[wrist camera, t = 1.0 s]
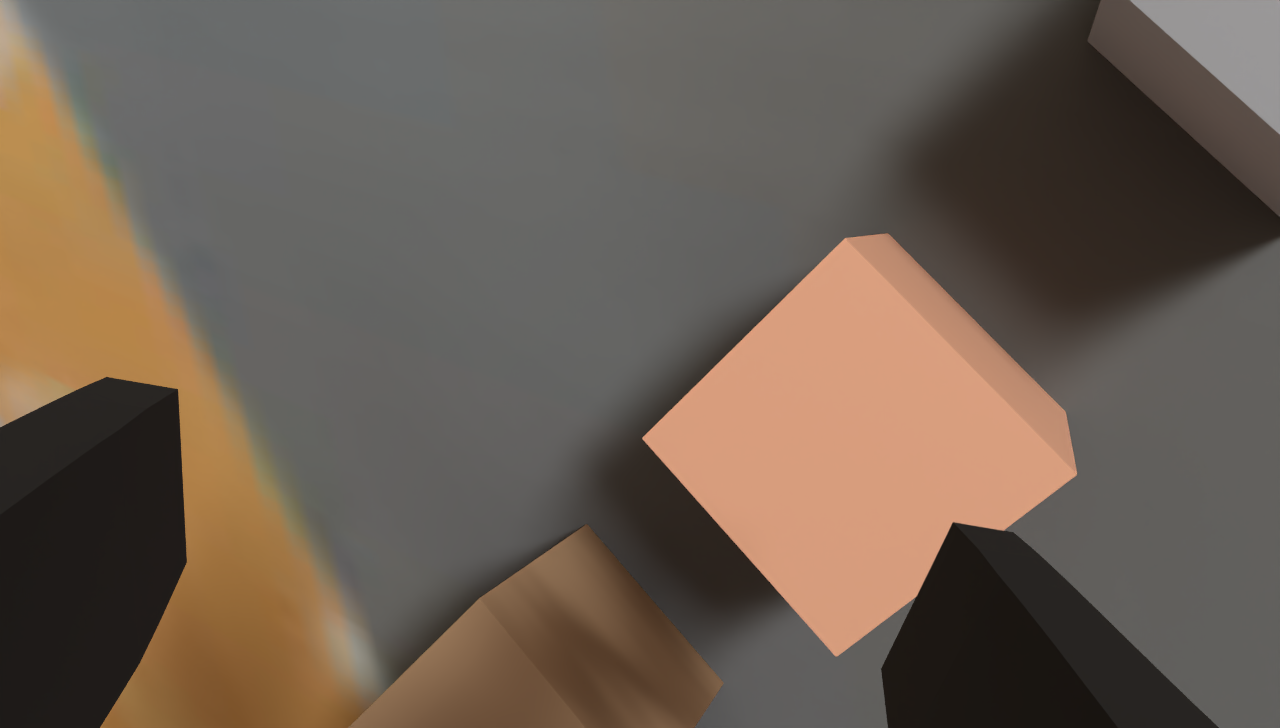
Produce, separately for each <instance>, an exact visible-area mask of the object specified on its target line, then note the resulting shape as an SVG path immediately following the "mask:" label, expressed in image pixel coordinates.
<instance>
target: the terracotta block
mask: <svg viewBox="0 0 1280 728" xmlns="http://www.w3.org/2000/svg"><path fill="white" fill-rule="evenodd" d="M642 439H643V440H644V441H645V442H646V443H647V445H648V446H649V447H650V448H651V449H652V450H653V451H654V452H655V454H656V455H657V456H658V457H659V458H660V459H661V460H662V461H663V463H664V464H665V465H666V466H667V467H668V468H669V469H670V470H671V472H672V473H673V474H674V475H675V476H676V477H677V478H678V479H679V481H680V482H681V483H682V484H683V485H684V486H685V487H686V488H687V490H688V491H689V492H690V493H691V494H692V495H693V496H694V497H695V499H696V500H697V501H698V502H699V503H700V504H701V505H702V506H703V508H704V509H705V510H706V511H707V512H708V513H709V514H710V515H711V517H712V518H713V519H714V520H715V521H716V522H717V523H718V524H719V526H720V527H721V528H722V529H723V530H724V531H725V532H726V533H727V535H728V536H729V537H730V538H731V539H732V540H733V541H734V542H735V544H736V545H737V546H738V547H739V548H740V549H741V550H742V551H743V553H744V554H745V555H746V556H747V557H748V558H749V559H750V560H751V562H752V563H753V564H754V565H755V566H756V567H757V568H758V569H759V571H760V572H761V573H762V574H763V575H764V576H765V577H766V578H767V580H768V581H769V582H770V583H771V584H772V585H773V586H774V587H775V589H776V590H777V591H778V592H779V593H780V594H781V595H782V596H783V598H784V599H785V600H786V601H787V602H788V603H789V604H790V605H791V607H792V608H793V609H794V610H795V611H796V612H797V613H798V614H799V616H800V617H801V618H802V619H803V620H804V621H805V622H806V623H807V625H808V626H809V627H810V628H811V629H812V630H813V631H814V632H815V634H816V635H817V636H818V637H819V638H820V639H821V640H822V641H823V643H824V644H825V645H826V646H827V647H828V648H829V649H830V650H831V652H832V653H833V654H834V655H835V656H836V657H837V656H838V655H840V654H841V653H842V652H844V651H845V650H846V649H847V648H849V647H850V646H851V645H853V644H854V643H855V642H857V641H858V640H859V639H861V638H862V637H863V636H865V635H866V634H867V633H869V632H870V631H871V630H873V629H874V628H875V627H877V626H878V625H879V624H880V623H882V622H883V621H884V620H886V619H887V618H888V617H890V616H891V615H892V614H894V613H895V612H896V611H898V610H899V609H900V608H902V607H903V606H904V605H906V604H907V603H908V602H910V601H911V600H912V599H913V598H915V597H916V596H917V595H918V593H919V591H920V589H921V586H922V584H923V582H924V580H925V578H926V576H927V574H928V572H929V570H930V568H931V566H932V564H933V562H934V560H935V558H936V556H937V554H938V552H939V550H940V548H941V546H942V543H943V541H944V539H945V537H946V535H947V533H948V531H949V529H950V527H951V525H952V523H953V522H955V523H961V524H967V525H973V526H979V527H985V528H990V529H996V530H1002V531H1003V530H1005V529H1006V528H1007V527H1009V526H1010V525H1011V524H1013V523H1014V522H1015V521H1016V520H1018V519H1019V518H1020V517H1022V516H1023V515H1024V514H1026V513H1027V512H1028V511H1030V510H1031V509H1032V508H1034V507H1035V506H1036V505H1038V504H1039V503H1040V502H1042V501H1043V500H1044V499H1046V498H1047V497H1048V496H1049V495H1051V494H1052V493H1053V492H1055V491H1056V490H1057V489H1059V488H1060V487H1061V486H1063V485H1064V484H1065V483H1067V482H1068V481H1069V480H1071V479H1072V478H1073V477H1075V476H1076V475H1077V471H1076V465H1075V460H1074V454H1073V449H1072V443H1071V438H1070V433H1069V427H1068V422H1067V416H1066V412H1065V411H1064V410H1063V409H1062V408H1061V407H1060V406H1059V405H1058V404H1057V403H1056V402H1055V401H1054V400H1053V399H1052V398H1051V397H1050V396H1049V395H1048V394H1047V393H1046V392H1045V391H1044V390H1043V389H1042V388H1041V387H1040V386H1039V385H1038V384H1037V383H1036V382H1035V381H1034V380H1033V379H1032V378H1031V377H1030V376H1029V375H1028V374H1027V373H1026V372H1025V371H1024V370H1023V369H1022V368H1021V367H1020V366H1019V365H1018V364H1017V363H1016V362H1015V361H1014V360H1013V359H1012V358H1011V357H1010V356H1009V355H1008V353H1007V352H1006V351H1005V350H1004V349H1003V348H1002V347H1001V346H1000V345H999V344H998V343H997V342H996V341H995V340H994V339H993V338H992V337H991V336H990V335H989V334H988V333H987V332H986V331H985V330H984V329H983V328H982V327H981V326H980V325H979V324H978V323H977V322H976V321H975V320H974V319H973V318H972V317H971V316H970V315H969V314H968V313H967V312H966V311H965V310H964V309H963V308H962V307H961V306H960V305H959V304H958V303H957V302H956V301H955V300H954V299H953V298H952V297H951V296H950V295H949V294H948V293H947V292H946V291H945V290H944V289H943V288H942V287H941V286H940V285H939V284H938V283H937V282H936V281H935V280H934V279H933V278H932V277H931V276H930V275H929V274H928V273H927V272H926V271H925V270H924V269H923V268H922V267H921V266H920V265H919V264H918V263H917V262H916V261H915V260H914V259H913V258H912V257H911V256H910V255H909V254H908V253H907V252H906V251H905V250H904V249H903V248H902V247H901V246H900V245H899V244H898V243H897V242H896V241H895V240H894V239H893V238H892V237H891V236H890V235H889V234H888V233H887V234H878V235H869V236H860V237H851V238H845V239H844V240H843V241H842V242H841V243H840V244H839V245H838V246H837V247H836V248H835V249H834V250H833V251H832V252H831V253H830V254H829V255H828V256H827V257H825V258H824V259H823V260H822V261H821V262H820V263H819V264H818V265H817V266H816V267H815V268H814V269H813V270H812V271H811V272H810V273H809V274H808V275H807V276H806V277H805V278H804V279H803V280H802V281H801V282H800V283H799V284H798V285H797V286H796V287H795V288H794V289H793V290H792V291H791V292H790V293H789V294H788V295H787V296H786V297H785V298H784V299H783V300H782V301H781V302H780V303H779V304H778V305H777V306H776V307H775V308H774V309H773V310H772V311H771V312H770V313H769V314H768V315H767V316H766V317H765V318H764V319H763V320H762V321H761V322H759V323H758V324H757V325H756V326H755V327H754V328H753V329H752V330H751V331H750V332H749V333H748V334H747V335H746V336H745V337H744V338H743V339H742V340H741V341H740V342H739V343H738V344H737V345H736V346H735V347H734V348H733V349H732V350H731V351H730V352H729V353H728V354H727V355H726V356H725V357H724V358H723V359H722V360H721V361H720V362H719V363H718V364H717V365H716V366H715V367H714V368H713V369H712V370H711V371H710V372H709V373H708V374H707V375H706V376H705V377H704V378H703V379H702V380H701V381H700V382H699V383H698V384H697V385H696V386H695V387H693V388H692V389H691V390H690V391H689V392H688V393H687V394H686V395H685V396H684V397H683V398H682V399H681V400H680V401H679V402H678V403H677V404H676V405H675V406H674V407H673V408H672V409H671V410H670V411H669V412H668V413H667V414H666V415H665V416H664V417H663V418H662V419H661V420H660V421H659V422H658V423H657V424H656V425H655V426H654V427H653V428H652V429H651V430H650V431H649V432H648V433H647V434H646V435H645V436H644V437H643V438H642Z"/></svg>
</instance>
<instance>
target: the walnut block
mask: <svg viewBox="0 0 1280 728" xmlns="http://www.w3.org/2000/svg"><path fill="white" fill-rule="evenodd" d="M722 685H723V682H722V680H721V679H720V678H719V677H718V676H717V675H716V674H715V672H714V671H713V670H712V669H711V668H710V667H709V665H708V664H707V663H706V662H705V661H704V660H703V658H702V657H701V656H700V655H699V654H698V653H697V651H696V650H695V649H694V648H693V647H692V646H691V644H690V643H689V642H688V641H687V640H686V639H685V637H684V636H683V635H682V634H681V633H680V632H679V631H678V629H677V628H676V627H675V626H674V625H673V624H672V622H671V621H670V620H669V619H668V618H667V617H666V615H665V614H664V613H663V612H662V611H661V610H660V608H659V607H658V606H657V605H656V604H655V603H654V601H653V600H652V599H651V598H650V597H649V596H648V594H647V593H646V592H645V591H644V590H643V589H642V587H641V586H640V585H639V584H638V583H637V582H636V581H635V579H634V578H633V577H632V576H631V575H630V574H629V572H628V571H627V570H626V569H625V568H624V567H623V565H622V564H621V563H620V562H619V561H618V560H617V558H616V557H615V556H614V555H613V554H612V553H611V551H610V550H609V549H608V548H607V547H606V546H605V544H604V543H603V542H602V541H601V540H600V539H599V538H598V536H597V535H596V534H595V533H594V532H593V531H592V529H591V528H590V527H589V526H588V525H587V524H586V525H585V526H583V527H582V528H580V529H579V530H577V531H576V532H575V533H573V534H572V535H570V536H569V537H567V538H566V539H564V540H563V541H562V542H560V543H559V544H557V545H556V546H554V547H553V548H551V549H550V550H548V551H547V552H546V553H544V554H543V555H541V556H540V557H538V558H537V559H535V560H534V561H533V562H531V563H530V564H528V565H527V566H525V567H524V568H522V569H521V570H520V571H518V572H517V573H515V574H514V575H512V576H511V577H509V578H508V579H507V580H505V581H504V582H502V583H501V584H499V585H498V586H496V587H495V588H494V589H492V590H491V591H489V592H488V593H486V594H485V595H483V596H482V597H480V598H479V599H478V600H477V601H476V602H475V603H474V604H473V605H472V606H471V607H470V608H469V609H468V610H467V611H466V612H465V613H464V614H463V615H462V616H461V617H460V618H459V619H458V620H457V621H456V622H455V623H454V624H453V625H452V626H451V627H450V628H449V629H448V630H447V631H446V632H445V633H444V634H443V635H442V636H441V637H440V638H439V639H438V640H437V641H436V642H435V643H434V644H433V645H432V646H431V647H429V648H428V649H427V650H426V651H425V652H424V653H423V654H422V655H421V656H420V657H419V658H418V659H417V660H416V661H415V662H414V663H413V664H412V665H411V666H410V667H409V668H408V669H407V670H406V671H405V672H404V673H403V674H402V675H401V676H400V677H399V678H398V679H397V680H396V681H395V682H394V683H393V684H392V685H391V686H390V687H389V688H388V689H387V690H386V691H385V692H384V693H383V694H382V695H381V696H380V697H379V698H378V699H377V700H376V701H375V702H374V703H373V704H372V705H371V706H370V707H369V708H368V709H367V710H366V711H365V712H364V713H363V714H362V715H361V716H360V717H359V718H358V719H357V720H355V721H354V722H353V723H352V724H351V725H350V726H349V727H348V728H694V727H695V726H696V724H697V723H698V721H699V720H700V718H701V717H702V715H703V714H704V712H705V711H706V709H707V708H708V706H709V705H710V703H711V702H712V700H713V699H714V697H715V696H716V694H717V693H718V691H719V690H720V688H721V687H722Z"/></svg>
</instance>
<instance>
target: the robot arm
mask: <svg viewBox="0 0 1280 728" xmlns="http://www.w3.org/2000/svg"><path fill="white" fill-rule="evenodd" d="M186 563H187V557H186V538H185V518H184V498H183V479H182V459H181V439H180V419H179V400H178V389H173V388H167V387H162V386H156V385H150V384H144V383H138V382H132V381H126V380H121V379H115V378H109V377H106V378H103V379H101V380H99V381H96V382H94V383H92V384H89V385H87V386H85V387H83V388H80V389H78V390H76V391H74V392H72V393H70V394H68V395H65V396H63V397H61V398H59V399H57V400H55V401H53V402H51V403H49V404H47V405H45V406H43V407H41V408H39V409H37V410H35V411H33V412H30V413H28V414H26V415H24V416H22V417H20V418H18V419H16V420H14V421H12V422H10V423H8V424H6V425H4V426H2V427H0V728H100V726H101V725H102V723H103V722H104V720H105V718H106V717H107V715H108V714H109V712H110V710H111V709H112V707H113V706H114V704H115V702H116V701H117V699H118V698H119V696H120V694H121V693H122V691H123V690H124V688H125V686H126V685H127V683H128V681H129V680H130V678H131V676H132V675H133V673H134V672H135V670H136V668H137V667H138V665H139V663H140V661H141V659H142V657H143V655H144V653H145V651H146V649H147V647H148V645H149V643H150V641H151V639H152V637H153V634H154V632H155V630H156V628H157V626H158V624H159V622H160V620H161V618H162V616H163V614H164V611H165V609H166V607H167V605H168V602H169V600H170V598H171V596H172V594H173V591H174V589H175V587H176V585H177V583H178V580H179V578H180V576H181V574H182V571H183V569H184V567H185V565H186ZM881 670H882V679H883V688H884V696H885V705H886V714H887V722H888V728H1219V727H1218V726H1216V725H1215V724H1214V723H1213V722H1212V721H1211V720H1210V719H1209V718H1208V717H1207V716H1206V715H1205V714H1204V713H1203V712H1202V711H1201V710H1200V709H1199V708H1197V707H1196V706H1195V705H1194V704H1193V703H1192V702H1191V701H1190V700H1189V699H1188V698H1187V697H1186V696H1185V695H1184V694H1183V693H1182V692H1181V691H1180V690H1179V689H1178V688H1177V687H1176V686H1175V685H1174V684H1172V683H1171V682H1170V681H1169V680H1168V679H1167V678H1166V677H1165V676H1164V675H1163V674H1162V673H1161V672H1160V671H1159V670H1158V669H1157V668H1156V667H1155V666H1154V665H1153V664H1152V663H1151V662H1150V661H1149V660H1148V659H1147V658H1146V657H1145V656H1144V655H1143V654H1142V653H1141V652H1140V651H1139V650H1138V649H1136V648H1135V647H1134V646H1133V645H1132V644H1131V643H1130V642H1129V641H1128V640H1127V639H1126V638H1125V637H1124V636H1123V635H1122V634H1121V633H1120V632H1119V631H1118V630H1117V629H1116V628H1115V627H1114V626H1113V625H1112V624H1111V623H1110V622H1109V621H1108V620H1107V619H1106V618H1105V617H1104V616H1103V615H1102V614H1101V613H1100V612H1099V611H1098V610H1097V609H1096V608H1095V607H1094V606H1093V605H1092V604H1091V603H1089V602H1088V601H1087V600H1086V599H1085V598H1084V597H1083V596H1082V595H1081V594H1080V593H1079V592H1078V591H1077V590H1076V589H1075V588H1074V587H1073V586H1072V585H1071V584H1070V583H1069V582H1068V581H1067V580H1066V579H1065V578H1064V577H1063V576H1061V575H1060V574H1059V573H1058V572H1057V571H1056V570H1055V569H1054V568H1053V567H1052V566H1051V565H1050V564H1049V563H1048V562H1047V561H1046V560H1044V559H1043V558H1042V557H1041V556H1040V555H1039V554H1038V553H1037V552H1036V551H1034V550H1033V549H1032V548H1031V547H1030V546H1029V545H1028V544H1026V543H1025V542H1024V541H1023V540H1022V539H1020V538H1019V537H1018V536H1017V535H1016V534H1014V533H1013V532H1008V531H1002V530H996V529H990V528H985V527H979V526H973V525H967V524H961V523H955V522H953V523H952V525H951V527H950V529H949V531H948V533H947V535H946V537H945V539H944V541H943V543H942V546H941V548H940V550H939V552H938V554H937V556H936V558H935V560H934V562H933V564H932V566H931V568H930V570H929V572H928V574H927V576H926V578H925V580H924V582H923V584H922V586H921V589H920V591H919V593H918V595H917V597H916V599H915V601H914V603H913V605H912V607H911V609H910V611H909V613H908V615H907V617H906V619H905V621H904V623H903V625H902V627H901V629H900V632H899V634H898V636H897V638H896V640H895V642H894V644H893V646H892V648H891V650H890V652H889V654H888V656H887V658H886V660H885V662H884V664H883V666H882V668H881Z"/></svg>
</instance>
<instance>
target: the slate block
mask: <svg viewBox="0 0 1280 728" xmlns="http://www.w3.org/2000/svg"><path fill="white" fill-rule="evenodd" d="M1087 42H1089V43H1090V44H1091V45H1092V46H1093V47H1094V48H1095V49H1096V50H1097V51H1098V52H1099V53H1101V54H1102V55H1103V56H1104V57H1105V58H1106V59H1107V60H1108V61H1109V62H1110V63H1112V64H1113V65H1114V66H1115V67H1116V68H1117V69H1118V70H1119V71H1120V72H1121V73H1122V74H1124V75H1125V76H1126V77H1127V78H1128V79H1129V80H1130V81H1131V82H1132V83H1133V84H1135V85H1136V86H1137V87H1138V88H1139V89H1140V90H1141V91H1142V92H1143V93H1144V94H1145V95H1147V96H1148V97H1149V98H1150V99H1151V100H1152V101H1153V102H1154V103H1155V104H1156V105H1158V106H1159V107H1160V108H1161V109H1162V110H1163V111H1164V112H1165V113H1166V114H1167V115H1168V116H1170V117H1171V118H1172V119H1173V120H1174V121H1175V122H1176V123H1177V124H1178V125H1179V126H1180V127H1182V128H1183V129H1184V130H1185V131H1186V132H1187V133H1188V134H1189V135H1190V136H1191V137H1193V138H1194V139H1195V140H1196V141H1197V142H1198V143H1199V144H1200V145H1201V146H1202V147H1203V148H1205V149H1206V150H1207V151H1208V152H1209V153H1210V154H1211V155H1212V156H1213V157H1214V158H1216V159H1217V160H1218V161H1219V162H1220V163H1221V164H1222V165H1223V166H1224V167H1225V168H1226V169H1228V170H1229V171H1230V172H1231V173H1232V174H1233V175H1234V176H1235V177H1236V178H1237V179H1239V180H1240V181H1241V182H1242V183H1243V184H1244V185H1245V186H1246V187H1247V188H1248V189H1249V190H1251V191H1252V192H1253V193H1254V194H1255V195H1256V196H1257V197H1258V198H1259V199H1260V200H1261V201H1263V202H1264V203H1265V204H1266V205H1267V206H1268V207H1269V208H1270V209H1271V210H1272V211H1274V212H1275V213H1276V214H1277V215H1278V216H1279V217H1280V0H1101V1H1100V4H1099V7H1098V10H1097V13H1096V16H1095V19H1094V22H1093V25H1092V28H1091V31H1090V34H1089V37H1088V40H1087Z"/></svg>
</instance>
